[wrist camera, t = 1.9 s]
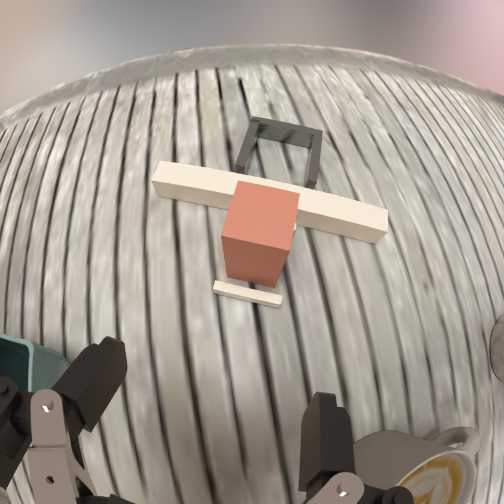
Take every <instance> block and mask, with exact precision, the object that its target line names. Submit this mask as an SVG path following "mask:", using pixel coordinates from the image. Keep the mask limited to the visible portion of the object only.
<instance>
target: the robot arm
mask: <svg viewBox="0 0 504 504" xmlns="http://www.w3.org/2000/svg"><path fill="white" fill-rule="evenodd" d="M490 355H491V363H492V367H493V370H494V372H495V374H496V376H497V377H498V378H499V379H500V380H502V381H504V315H502V316H501V317H500V318H499V319H498V321H497V322H496V324H495V326H494V329H493V333H492V337H491V345H490ZM126 373H127V359H126V352H125V344H124V342H122V341H119V340H117V339H114V338H112V337H109V336H107V337H105V338H104V339H103V340H102V342H101V343H100V344H99V345H97V344H95V343H94V344H92V345H90V346H88V347H86V348H85V349H84V350H83V351H82V352H81V353H80V354H79V356H78V358H76V359H75V360H74V361H73V363H72V365H70V366H69V367H68V369H67V370H66V371H65V372H64V374H63V375H62V376H61V377H60V378H59V380H58V381H57V382H56V383H55V385H54V386H53V387H52V388H51V389H42V390H39V391H37V392H36V393H33V392H29V391H25V390H22V389H18V388H17V386H16V384H15V383H14V381H13V380H12V379H10V378H8V377H0V504H10V503H9V500H8V496H7V493H6V489H7V487H8V485H9V483H10V481H11V479H12V477H13V475H14V473H15V471H16V469H17V467H18V466H19V464H20V462H21V460H22V458H23V457H24V455H25V453H26V451H27V449H28V462H29V470H30V476H31V483H32V488H33V494H34V499H35V503H36V504H134V503H132V502H129V501H127V500H125V499H122V498H120V497H118V496H115V495H113V494H111V495H110V497H104V496H97V493H96V490H95V487H94V484H93V482H92V480H91V478H90V476H89V473H88V470H87V466H86V461H85V457H84V453H83V448H82V443H81V438H80V432H81V431H82V429H85V430H87V431H89V432H92V430H93V429H94V427H95V425H96V424H97V422H98V420H99V419H100V417H101V415H102V414H103V412H104V411H105V409H106V407H107V406H108V404H109V402H110V401H111V399H112V398H113V396H114V394H115V393H116V391H117V390H118V388H119V386H120V385H121V383H122V382H123V380H124V378H125V376H126ZM31 443H32V446H31V447H29V446H30V444H31ZM298 491H303V492H307V495H306V500H304V501H303V502H302V503H301V504H414V499H413V495H412V493H411V492H410V491H409V490H408V489H407V488H405V487H402V486H394V487H392V488H390V489H388V490H383V489H379V488H375V487H371V486H368V485H366V484H364V483H363V482H362V480H361V479H360V478H359V477H358V476H357V474H356V471H355V461H354V450H353V440H352V431H351V422H350V417H349V415H348V413H347V412H346V410H345V408H344V407H337V403H336V396H335V394H331V393H323V392H316V393H315V394H314V396H313V398H312V400H311V402H310V404H309V405H308V407H307V409H306V411H305V413H304V415H303V419H302V425H301V452H300V473H299V489H298Z"/></svg>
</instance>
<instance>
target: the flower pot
mask: <svg viewBox="0 0 504 504" xmlns="http://www.w3.org/2000/svg"><path fill="white" fill-rule="evenodd" d="M69 366H70V364H69V362H68V360H67V359H66V358H65V357H64V356H63V355H61V354H60V353H58V352H56V351H54V350H51V349H49V348H46V347H44V346H41V345H39V344H36V343H34V342H31V341H29V340H25V339H21V338H17V337H13V336H9V335H5V334H2V333H0V377H8V378H10V379H12V380H13V381H14V383H15V384H16V386H17V388H18V389H22V390H25V391H29V392H33V393H36V392H37V391H39V390H42V389H51V388H52V387H53V386H54V385H55V383H56V382H57V381H58V380H59V378H60V377H61V376H62V375H63V374H64V372H65V371H66V370H67V369H68V367H69ZM31 446H32V443H31V444H30V446H29V447H31Z"/></svg>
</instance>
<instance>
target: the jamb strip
mask: <svg viewBox="0 0 504 504" xmlns="http://www.w3.org/2000/svg"><path fill="white" fill-rule="evenodd" d="M238 180H239V181H244V182H249V183H254V184H259V185H264V186H269V187H273V188H278V189H282V190H287V191H291V192H296V193H300V196H299V202H298V208H297V214H296V219H295V225H294V230H293V235H294V232H295V229H296V225H300V226H304V227H308V228H313V229H317V230H321V231H325V232H329V233H333V234H338V235H342V236H346V237H350V238H354V239H358V240H362V241H365V242H369V243H373V244H376V243H377V242H378V241H379V240H380V239H381V238H382V237H383V236H384V235H385V234H386V233H387V232H388V210H387V209H383V208H380V207H376V206H373V205H369V204H366V203H362V202H359V201H355V200H352V199H348V198H344V197H340V196H336V195H333V194H329V193H325V192H321V191H317V190H313V189H308V188H304V187H300V186H296V185H291V184H287V183H282V182H278V181H273V180H268V179H264V178H259V177H254V176H249V175H244V174H238V173H233V172H228V171H222V170H216V169H211V168H205V167H199V166H192V165H186V164H179V163H172V162H165V161H160V163H159V165H158V167H157V169H156V171H155V173H154V175H153V178H152V180H151V181H152V183H153V186H154V188H155V190H156V193H157V195H158V196H160V197H165V198H171V199H176V200H181V201H186V202H192V203H197V204H202V205H207V206H212V207H217V208H222V209H227V210H229V207H230V204H231V201H232V198H233V195H234V192H235V188H236V185H237V182H238ZM292 237H293V236H292ZM213 290H214V293H216V294H220V295H224V296H228V297H233V298H237V299H241V300H245V301H250V302H254V303H258V304H263V305H267V306H272V307H277V308H279V307H280V305H281V302H282V297H283V296H281V295H276V294H272V293H267V292H263V291H259V290H254V289H250V288H245V287H241V286H237V285H233V284H228V283H224V282H220V281H216V280H215V284H214V287H213Z"/></svg>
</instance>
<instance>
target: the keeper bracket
mask: <svg viewBox="0 0 504 504" xmlns="http://www.w3.org/2000/svg"><path fill="white" fill-rule="evenodd" d="M322 133H323V131H321V130H317V129H313V128H309V127H304V126H300V125H295V124H291V123H286V122H281V121H276V120H271V119H265V118H260V117H254V116H253V117H252V119H251V122H250V125H249V128H248V130H247V133H246V136H245V139H244V142H243V144H242V147H241V150H240V153H239V156H238V158H237V161H236V164H235V169H236V173H238V174H244V175H246V174H247V171H248V168H249V164H250V161H251V158H252V155H253V152H254V148H255V145H256V142H257V139H258V137H259V138H265V139H270V140H275V141H280V142H284V143H289V144H294V145H298V146H302V147H307V148H310V151H309V157H308V164H307V170H306V177H305V183H304V188H308V189H313V190H314V188H315V185H316V183H317V176H318V168H319V160H320V151H321V142H322Z"/></svg>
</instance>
